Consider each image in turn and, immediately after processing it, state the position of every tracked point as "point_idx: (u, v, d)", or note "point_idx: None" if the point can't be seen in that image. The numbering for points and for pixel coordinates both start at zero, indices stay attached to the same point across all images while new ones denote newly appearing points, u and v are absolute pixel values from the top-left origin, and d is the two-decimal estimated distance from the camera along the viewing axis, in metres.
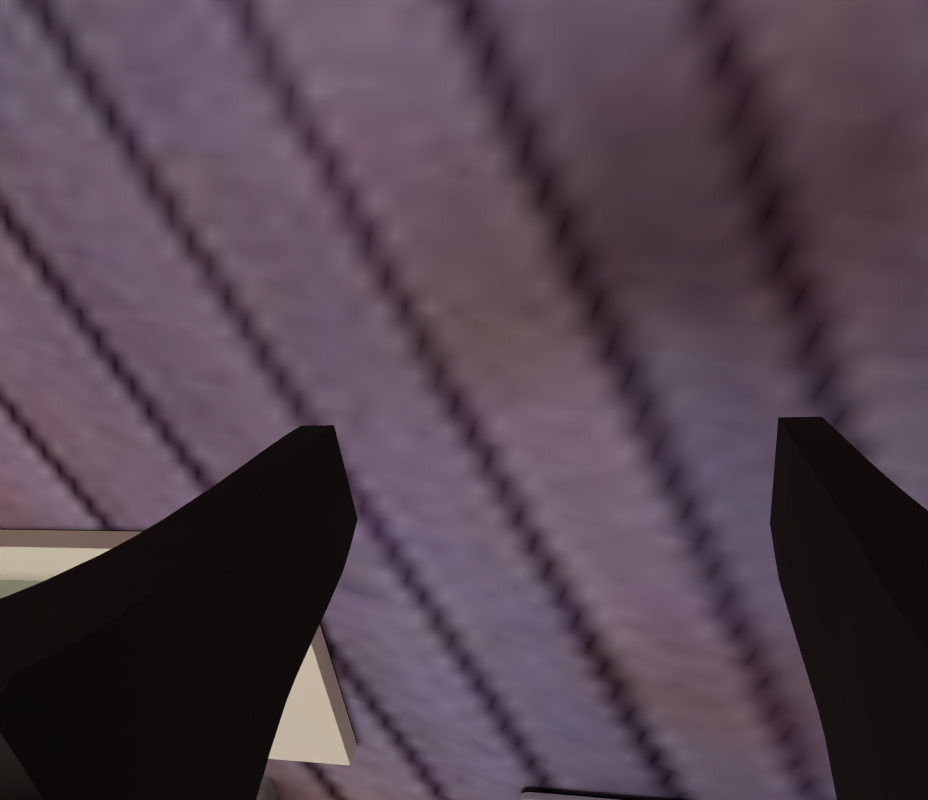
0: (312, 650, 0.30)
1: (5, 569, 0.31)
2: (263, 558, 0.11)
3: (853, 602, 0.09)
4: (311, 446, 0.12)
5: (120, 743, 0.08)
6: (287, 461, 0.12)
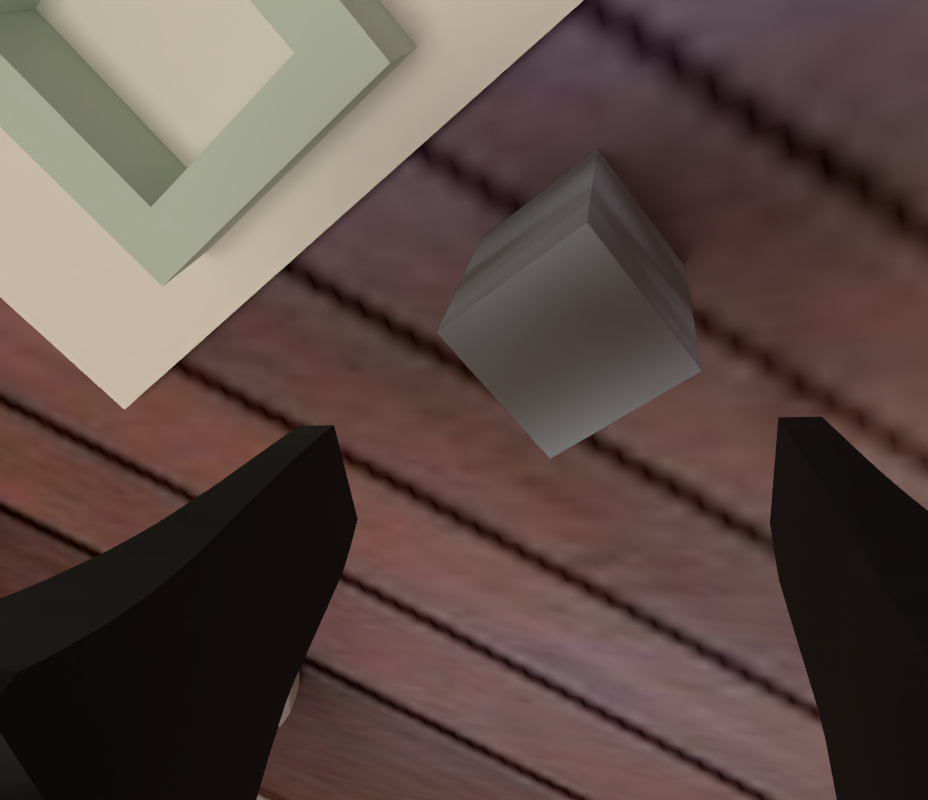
0: None
1: None
2: (263, 558, 0.11)
3: (853, 602, 0.09)
4: (311, 446, 0.12)
5: (120, 743, 0.08)
6: (287, 461, 0.12)
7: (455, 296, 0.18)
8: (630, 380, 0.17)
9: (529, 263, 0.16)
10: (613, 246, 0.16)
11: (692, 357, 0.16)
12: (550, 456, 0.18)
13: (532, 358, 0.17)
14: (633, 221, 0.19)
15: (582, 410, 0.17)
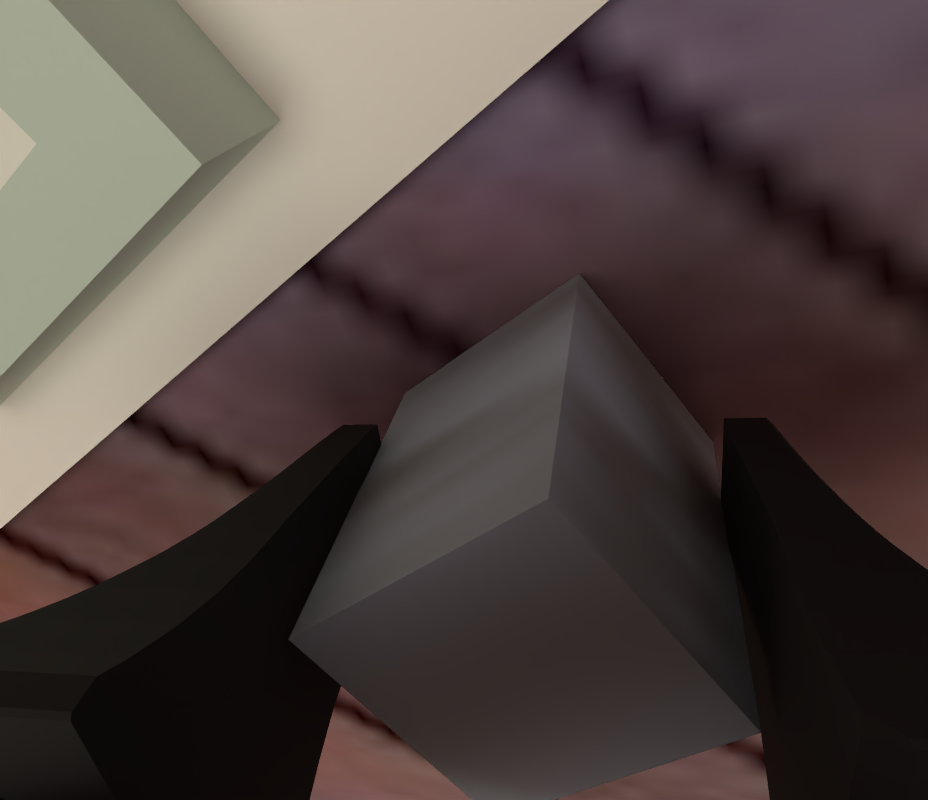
0: None
1: None
2: (314, 559, 0.11)
3: (777, 600, 0.09)
4: (357, 446, 0.12)
5: (187, 749, 0.08)
6: (335, 461, 0.12)
7: (339, 539, 0.11)
8: (630, 734, 0.09)
9: (443, 551, 0.09)
10: (600, 521, 0.09)
11: (744, 710, 0.09)
12: None
13: (457, 688, 0.10)
14: (636, 406, 0.12)
15: (548, 766, 0.10)
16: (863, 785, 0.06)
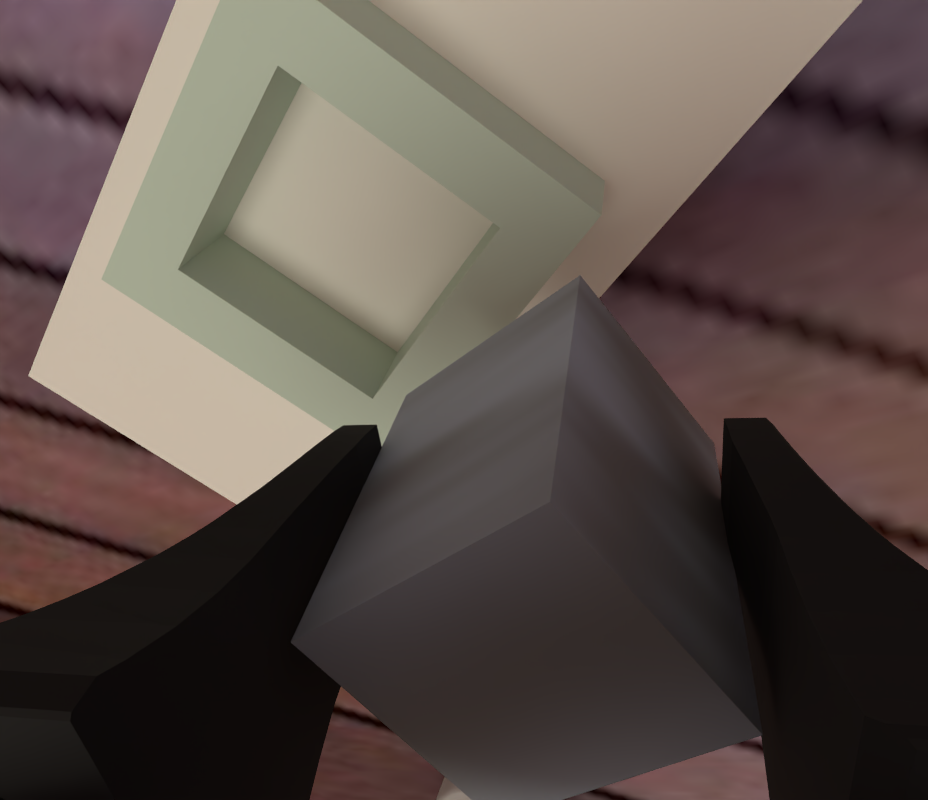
0: None
1: None
2: (314, 559, 0.11)
3: (777, 600, 0.09)
4: (357, 446, 0.12)
5: (187, 749, 0.08)
6: (335, 461, 0.12)
7: (341, 541, 0.11)
8: (632, 736, 0.09)
9: (445, 554, 0.09)
10: (602, 524, 0.09)
11: (745, 713, 0.09)
12: None
13: (459, 691, 0.10)
14: (637, 408, 0.12)
15: (549, 767, 0.10)
16: (861, 783, 0.06)
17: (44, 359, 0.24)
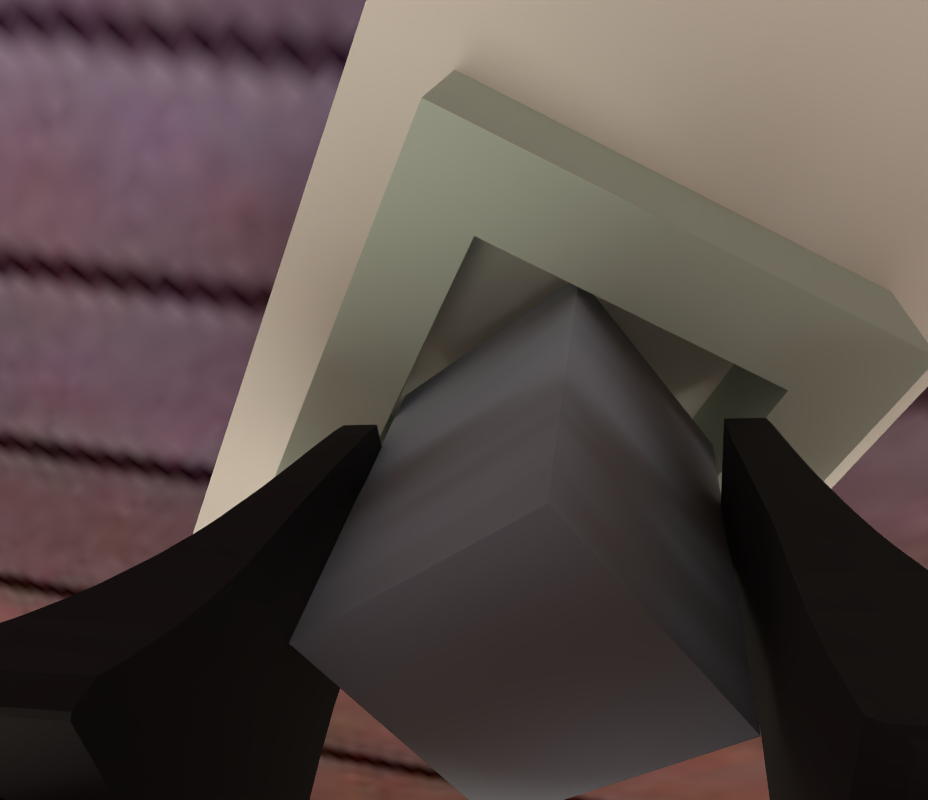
0: None
1: (326, 312, 0.16)
2: (314, 559, 0.11)
3: (777, 600, 0.09)
4: (357, 446, 0.12)
5: (187, 749, 0.08)
6: (335, 461, 0.12)
7: (339, 542, 0.11)
8: (630, 737, 0.09)
9: (443, 555, 0.09)
10: (600, 525, 0.09)
11: (743, 714, 0.09)
12: None
13: (457, 691, 0.10)
14: (635, 409, 0.12)
15: (547, 769, 0.10)
16: (861, 785, 0.06)
17: None
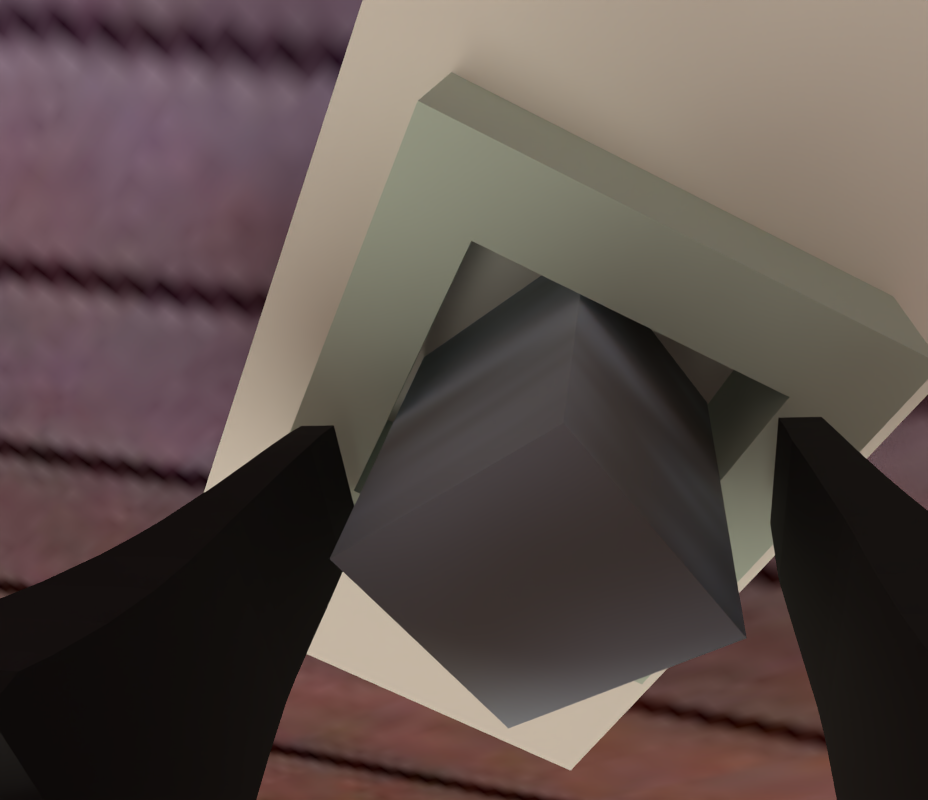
0: None
1: (323, 317, 0.16)
2: (263, 558, 0.11)
3: (853, 602, 0.09)
4: (311, 446, 0.12)
5: (120, 743, 0.08)
6: (287, 461, 0.12)
7: (370, 478, 0.12)
8: (631, 642, 0.11)
9: (470, 473, 0.10)
10: (607, 448, 0.10)
11: (731, 618, 0.10)
12: (509, 725, 0.12)
13: (478, 602, 0.11)
14: (637, 362, 0.13)
15: (558, 675, 0.11)
16: None
17: None
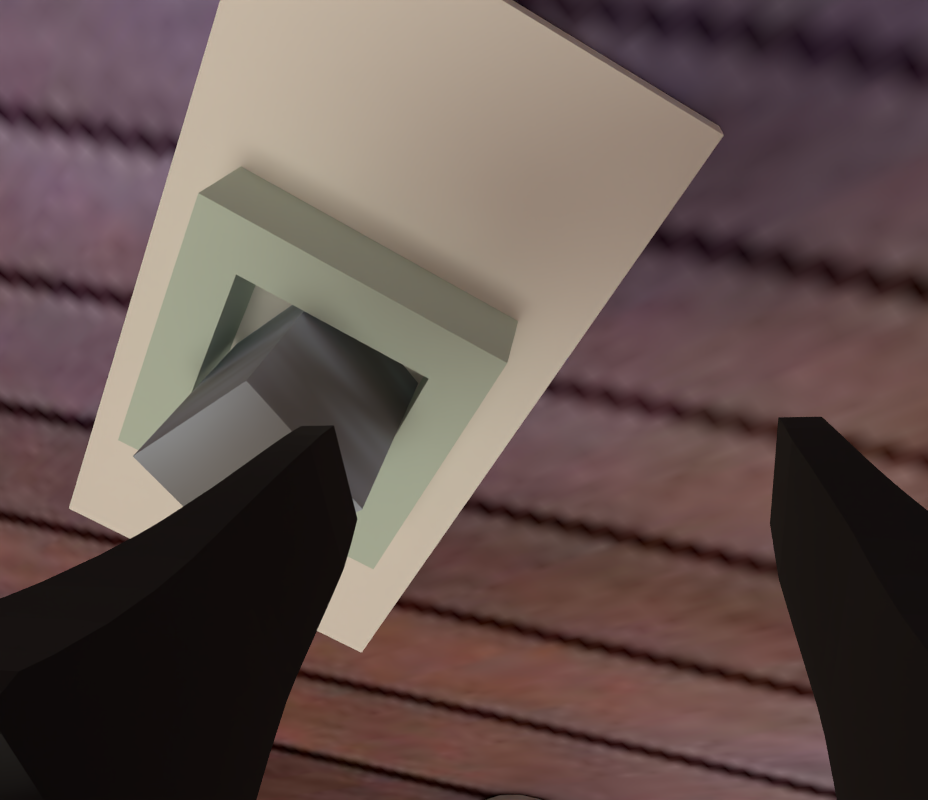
0: None
1: None
2: (263, 558, 0.11)
3: (853, 602, 0.09)
4: (311, 446, 0.12)
5: (120, 743, 0.08)
6: (287, 461, 0.12)
7: (171, 414, 0.20)
8: None
9: (204, 407, 0.18)
10: (281, 397, 0.18)
11: (353, 497, 0.18)
12: None
13: None
14: (346, 353, 0.21)
15: None
16: None
17: (80, 494, 0.28)
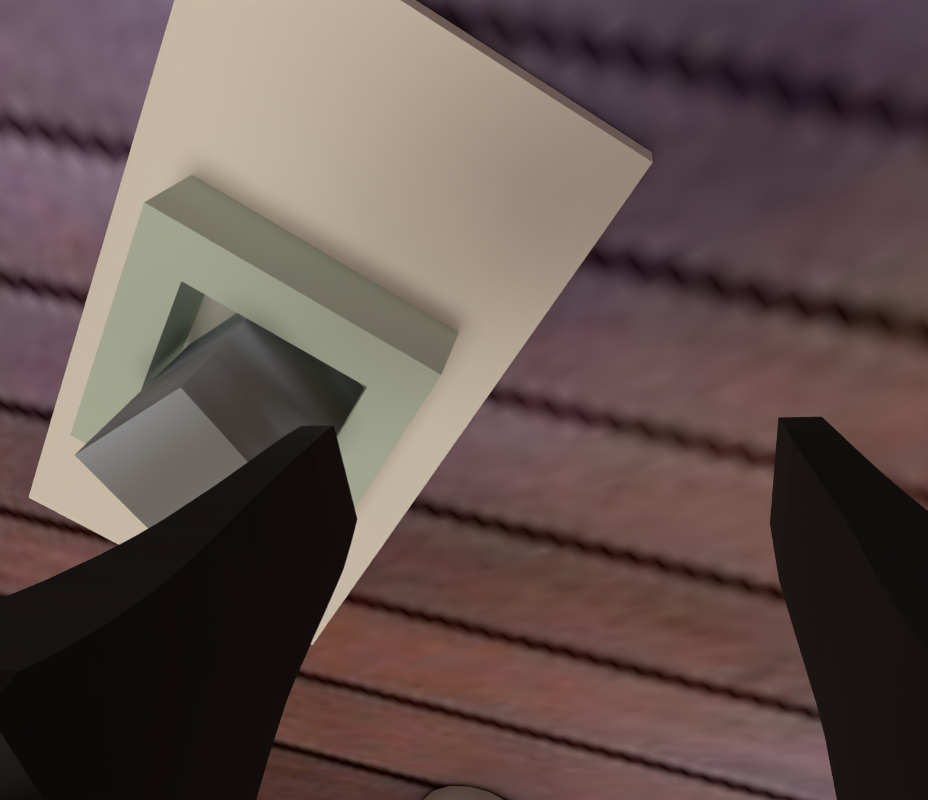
0: (402, 3, 0.18)
1: None
2: (263, 558, 0.11)
3: (853, 602, 0.09)
4: (311, 446, 0.12)
5: (120, 743, 0.08)
6: (287, 461, 0.12)
7: (117, 414, 0.21)
8: None
9: (142, 411, 0.18)
10: (216, 403, 0.18)
11: None
12: None
13: (156, 485, 0.19)
14: (289, 359, 0.22)
15: None
16: None
17: (40, 484, 0.29)
